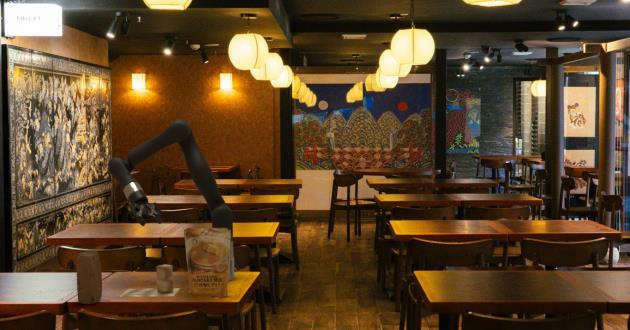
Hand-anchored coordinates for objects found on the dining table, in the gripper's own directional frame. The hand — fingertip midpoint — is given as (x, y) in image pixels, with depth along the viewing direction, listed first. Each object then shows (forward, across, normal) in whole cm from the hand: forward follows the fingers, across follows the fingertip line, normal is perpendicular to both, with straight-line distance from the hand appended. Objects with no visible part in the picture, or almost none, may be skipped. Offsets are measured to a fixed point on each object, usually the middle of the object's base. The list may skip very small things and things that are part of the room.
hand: (152, 223), depth 321 cm
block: (+18, -29, +22) cm, 41 cm away
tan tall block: (+28, -5, +9) cm, 30 cm away
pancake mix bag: (+40, +6, 0) cm, 40 cm away
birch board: (+26, -8, +14) cm, 31 cm away
